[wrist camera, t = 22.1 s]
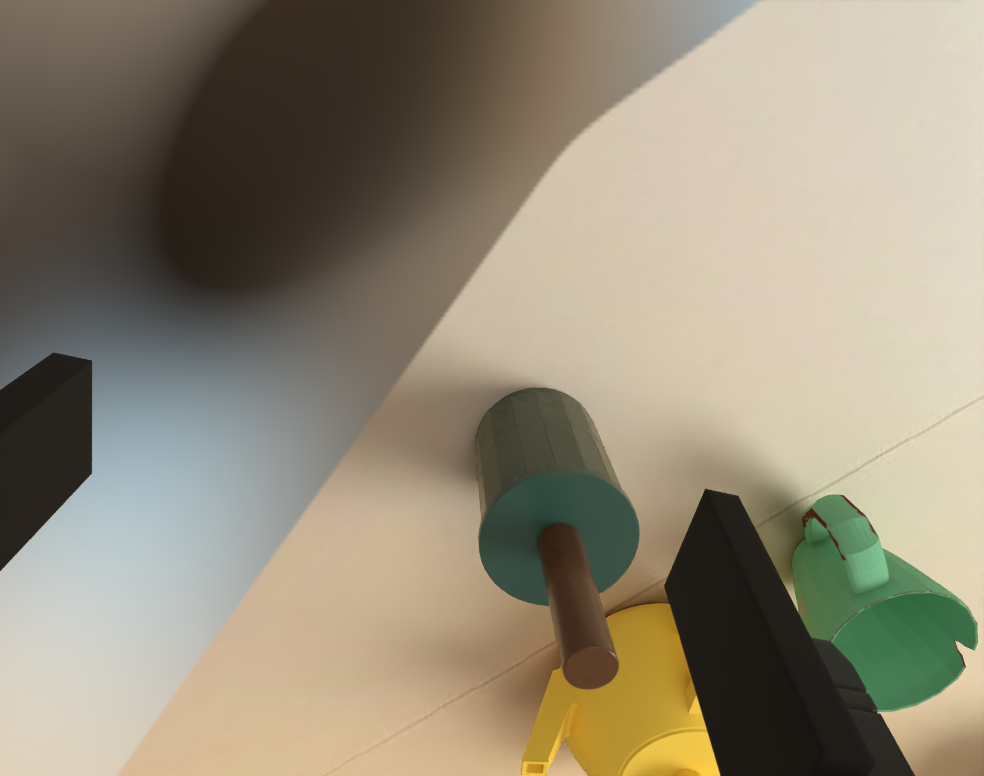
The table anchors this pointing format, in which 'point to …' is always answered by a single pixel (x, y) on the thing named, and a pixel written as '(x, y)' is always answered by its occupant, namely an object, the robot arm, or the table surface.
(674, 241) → the table surface
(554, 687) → the teapot
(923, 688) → the mug
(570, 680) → the ring toss peg stand
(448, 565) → the table surface
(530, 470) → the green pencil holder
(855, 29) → the table surface
